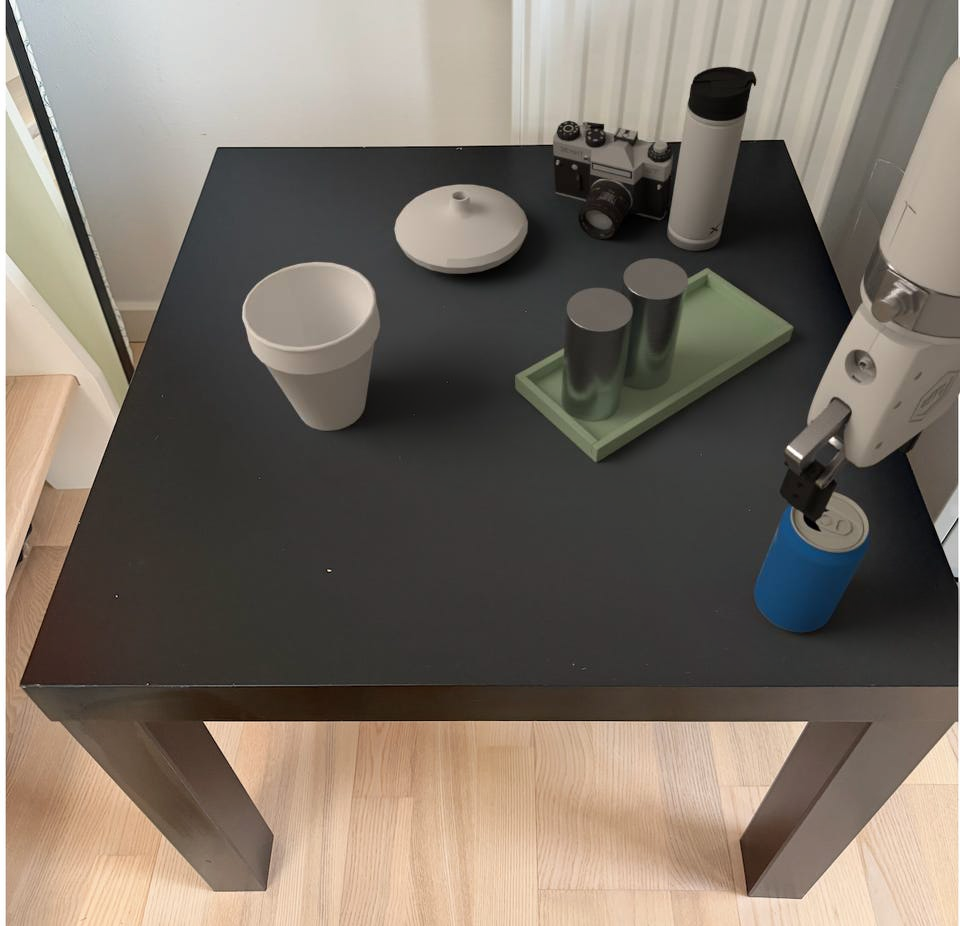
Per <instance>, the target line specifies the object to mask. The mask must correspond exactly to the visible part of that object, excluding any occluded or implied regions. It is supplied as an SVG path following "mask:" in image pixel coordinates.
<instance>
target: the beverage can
mask: <svg viewBox="0 0 960 926" xmlns="http://www.w3.org/2000/svg"><path fill="white" fill-rule="evenodd" d="M870 538H871V537H870V525H869V520H868V516H867V515H866V513H865V511H864V510H863V509H862V508H861V507H860V505H859V504H858V503H856V502H855V500H852V499H851V498H850V497H848V496H846V495H843V494H841V493H838V492H836V491H834V492H833V494H832V496H831V498H830V500H829V502H828V504H827V506H826V508H825V510H824V513H823V515H822V517H821V518H819V519H818V520H817V521H811V520H810V519H809V518H808V517H806V516H805V515H804V514H803V513H802V512H800V511H799V510H797V509H795V508H794V507H793V506H791V505H790V504H789V505H787V507H786V508H785V509H784V510H783V513H782V516H781V519H780V521H779V523H778V525H777V528H776V531H775V533H774V536H773V539H772V541H771V542H770V543H771V544H770V546H769V549H768V551H767V554H766V555H765V559H764V561H763V564H762V567H761V569H760V572H759V574H758V576H757V579H756V582H755V583H754V584H755V585H754V590H753V595H754V601H755V604H756V606H757V608H758V609H759V611H760V613H761V614H762V615H763V616H764V617H765V618H766V619H767V620H768V622H770V623H772V624H773V625H775V626H777V627H779V628H780V629H782V630H786V631H789V632H794V633H807V632H808V633H809V632H813V631H816V630H819V629H820V628H822V627H823V626H825V625H826V624H827V623H828V622H829V620H830V619H831V617H832V616H833V614H834V612H835V610H836V608H837V606H838V604H839V602H840V601H841V599H842V597H843V595H844V593H845V592H846V591H847V588H848V586H849V584H850V582H851V581H852V579H853V576H854V575H855V573H856V571H857V570H858V567H859V566H860V564H861V562H862V560H863V558H864V557H865V555H866V553H867V551H868V549H869V546H870Z"/></svg>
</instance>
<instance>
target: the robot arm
mask: <svg viewBox="0 0 960 926" xmlns="http://www.w3.org/2000/svg"><path fill="white" fill-rule="evenodd" d="M890 206H891V207H890V209H889V211H888V214H887V216H886V219H885V221H884V224H883V227H882V230H881V232H880V234H879V236H878V239H877V242H876V244H875V247H874V249H873V252H872V254H871V256H870V259H869V261H868V264H867V267H866V268H865V272H864V273H863V276H862V279H861V282H860V286H859V288H860V289H859V290H860V297H861V300H862V303H861V304H860V305H859V306H858V308H857V310H856V311H855V314H854V315H853V317H852V319H851V320H850V322H849V324H848V325H847V328H846V330H845V331H844V333H843V335H842V337H841V339H840V340H839V343H838V345H837V346H836V349H835V350H834V353H833V355H832V357H831V358H830V361H829V362H828V365H827V367H826V369H825V371H824V373H823V376H822V378H821V380H820V382H819V384H818V387H817V389H816V392H815V394H814V396H813V399H812V402H811V404H810V407H809V411H808V414H807V419H806V420H807V422H806V423H807V426H805V428H804V429H803V430H802V431H801V432H800V433H799V434H798V435H797V436H796V437H795V438H794V439H793V440H792V441H791V442H790V443H789V444H788V445H787V446H786V448H785V449H784V451H783V456H784V462H783V463H784V465H785V466H786V467H787V471H786V473H785V476H784V478H783V480H782V484H781V486H780V489H779V494H780V496H781V497H782V498H783V499H785V500H786V502H787V503H788V504H789V505H791V506H793V507H794V508H795V509H797V510H799V511H800V512H802V513H803V514H804V515H805V516H806V517H808V518H809V519H810V520H811V521H817V520H818V519H819V518H821V517H822V515H823V513H824V510H825V508H826V506H827V504H828V502H829V500H830V498H831V496H832V494H833V492H835V490H836V488H837V485H838V482H836V479H835V478H836V477H837V476H838V475H839V473H840V472H841V471H842V469H843V468H844V467H845V466H846V465H847V463H848V462H850V463H852V464H854V466H856V467H857V468H867V467H871V466H874V465H875V464H878V463H879V462H881V461H882V460H884V459H885V458H886V457H887V456H889V455H890V454H892V453H893V452H896V450H897V451H899V453H903V454H908V453H909V452H910V451H912V450H913V449H914V447H915V445H916V444H917V442H918V440H919V438H920V437H921V434H922V433H923V431H924V429H926V428H927V427H928V426H930V425H931V424H933V423H934V422H935V421H937V420H938V419H939V418H940V417H942V416H943V415H944V414H945V413H946V412H947V411H948V410H949V409H950V408H951V407H952V406H953V405H954V404H955V402H956V401H957V399H958V398H959V395H960V56H959V57H957V59H956V60H955V61H954V62H953V63H952V64H951V65H950V66H949V68H948V69H947V71H946V72H945V74H944V76H943V78H942V79H941V82H940V84H939V86H938V89H937V91H936V93H935V96H934V98H933V100H932V103H931V105H930V108H929V111H928V113H927V116H926V117H925V120H924V123H923V126H922V128H921V131H920V134H919V136H918V139H917V141H916V142H915V146H914V149H913V151H912V153H911V156H910V158H909V161H908V164H907V166H906V169H905V170H904V174H903V176H902V179H901V181H900V184H899V186H898V189H897V191H896V194H895V197H894V198H893V201H892V204H891V205H890ZM843 428H844V430H843V438H842V437H841V436H839V435H838V432H840V431H841V430H842V429H843ZM826 444H828V445H830V446H831V447H832V448H834V449H835V450H836V451H838V452H837V453H836V455H834V457H833V458H832V459H831V460H830V462H829V463H828V464H827V466H825V465H823V464H822V463H821V462H820V461H819V460H817V459H816V455H817V454H818V453H819V452H820V451H821V450H822V449H823V448H824V447H825V446H826Z"/></svg>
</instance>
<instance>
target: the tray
mask: <svg viewBox="0 0 960 926" xmlns="http://www.w3.org/2000/svg"><path fill="white" fill-rule="evenodd" d="M687 278H688V285H687V290H686V295H685V300H684V306H683V311H682V316H681V321H680V327H679V332H678V337H677V342H676V348H675V353H674V358H673V363H672V368H671V374H670V377H669V379H668V380H667V381H666V382H665V383H664V384H663V385H661V386H659V387H657V388H654V389H649V390H639V389H634V388H630V387H628V386H626V385H624V384H623V387H622V395H621V402H620V406H619V409H618V410H617V411H616V413H615V414H614V415H612V416H611V417H609V418H607V419H604V420H601V421H584V420H580V419H577V418H575V417H573V416H572V415H570V414H569V413H568V412H567V411H566V410H565V409H564V407H563V405H562V402H561V391H562V375H563V358H564V347H563V348H562V349H559V350H558V351H556V352H555V353H553V354H551V355H549V356H547V357H546V358H544V359H542V360H540V361H538V362H537V363H535V364H533V365H531V366H530V367H528V368H526V369H524V370H521V372H519V373H517V374H516V375H514V384H515V385H514V389H515V390H516V391H517V392H518V393H519V394H520V395H521V396H522V397H523V398H524V399H526V400H527V401H528V403H530V404H531V405H532V406H533V407H534V408H535V409H536V410H538V411H539V412H540V413H541V414H542V415H543V416H544V417H545V418H546V419H547V420H548V421H549V422H550V423H552V424H553V425H554V426H555V427H556V428H557V429H558V430H559V431H560V432H562V434H564V435H565V436H566V437H567V438H568V439H569V440H570V441H571V442H573V444H575V445H576V446H577V447H578V448H579V449H580V450H581V451H583V452H584V453H585V454H586V455H587V456H588V457H589V458H590V459H591V460H592V461H593V462H594V463H595V464H597V463H598V462H600V461H601V460H603V459H605V458H606V457H608V456H609V455H611V454H613V453H614V452H615V451H618V450H619V449H621V448H623V447H624V446H625V445H626V444H629V443H630V442H631V441H633V440H635V439H636V438H638V437H640V436H641V435H642V434H645V432H648V431H650V429H652V428H654V427H655V426H657V425H658V424H661V422H663V421H665V420H667V419H668V418H670V417H671V416H673V415H674V414H676V413H678V412H679V411H680V410H682V409H684V408H685V407H687V406H689V405H690V404H692V403H693V402H695V401H696V400H698V399H699V398H701V397H703V396H705V395H706V394H707V393H709V392H711V391H713V390H714V389H715V388H717V387H719V386H720V385H723V383H725V382H727V381H728V380H730V379H731V378H733V377H734V376H736V375H738V374H739V373H741V372H742V371H744V370H746V369H747V368H749V367H751V366H752V365H754V364H755V363H757V362H758V361H760V360H762V359H763V358H764V357H766V356H768V355H770V354H771V353H772V352H774V351H776V350H777V349H779V348H781V347H782V346H783V345H785V344H787V343H788V342H790V341H791V337H792V334H793V331H794V328H795V327H794V325H792V324H790V323H789V322H788V321H786V320H784V319H783V318H782V317H780V316H779V315H777V313H774V312H773V311H771V310H770V309H768V308H767V307H766V306H764V305H763V304H761V303H759V301H757V300H755V299H754V298H752V297H751V296H749V295H748V294H746V293H745V292H743V291H742V290H741V289H739V288H737V287H736V286H734V285H733V284H732V283H730V282H729V281H727V280H726V279H724V278H723V277H722V276H720V275H719V274H717V273H715V272H714V271H712V270H711V269H710V268H708V267H707V268H704V269H703V270H701V271H699V272H697V273H695V274H694V275H692V276H690V277H687Z"/></svg>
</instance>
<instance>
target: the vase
mask: <svg viewBox="0 0 960 926" xmlns="http://www.w3.org/2000/svg"><path fill="white" fill-rule="evenodd" d="M528 222H529V220H528V219H527V216H526V213H525V211H524V210H523V208H521V206H520V205H519V204H518V203H517V202H516V201H515V200H514V199H513V198H512V197H510V196H509V195H507V194H505V193H504V192H502V191H499V190H497V189H494V188H492V187H489V186H483V185H477V184H451V185H443V186H440V187H436V188H433V189H429V190H428V191H425V192H424V193H422V194H419V195H418V196H416V197H414V198H413V199H412V200H411V201H409V203H407V204H406V205H405V207H403V209H401V212H399V215H398V216H397V218H396V220H395V225H394V228H393V231H394V234H395V239H396V242H397V243H398V245H399V247H400V249H401V250H402V251H403V253H404V254H405V256H406V257H407V258H409V259H410V260H411V261H412V262H414V263H415V264H416V265H418V266H421V267H423V268H426V269H428V270H429V271H435V272H439V273H444V274H459V275H460V274H461V275H465V274H473V273H480V272H484V271H487V270H490V269H492V268H496V267H498V266H500V265H501V264H504V263H505V262H507V261H509V260H510V259H512V258H513V256H514V255H515V254H517V252H518V251H519V250H520V249H521V247H522V245H523V243H524V241H525V239H526V236H527V234H528V226H529V225H528V224H529V223H528Z"/></svg>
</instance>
